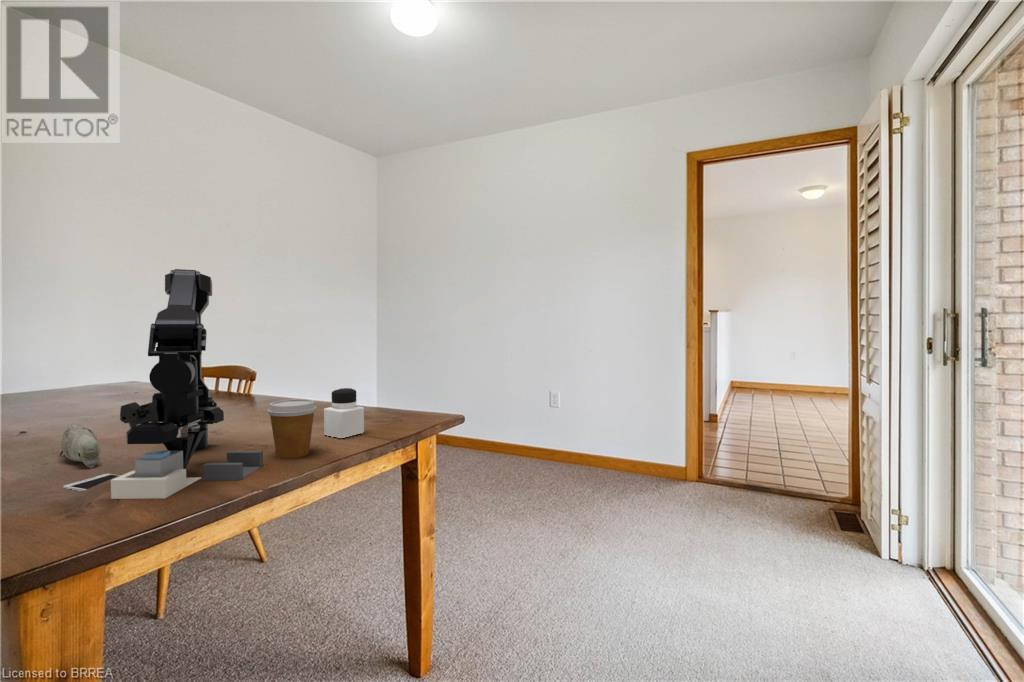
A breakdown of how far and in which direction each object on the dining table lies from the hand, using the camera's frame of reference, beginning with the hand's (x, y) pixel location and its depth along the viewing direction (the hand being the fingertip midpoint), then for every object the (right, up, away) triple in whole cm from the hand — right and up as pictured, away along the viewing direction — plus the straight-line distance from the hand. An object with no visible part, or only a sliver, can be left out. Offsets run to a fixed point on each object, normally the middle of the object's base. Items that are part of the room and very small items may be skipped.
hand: (181, 470), depth 88 cm
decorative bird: (-29, -2, +11) cm, 31 cm away
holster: (+8, -2, +3) cm, 9 cm away
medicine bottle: (+18, -1, +35) cm, 39 cm away
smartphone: (-9, -3, -3) cm, 10 cm away
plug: (0, -1, -5) cm, 6 cm away
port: (0, -2, -6) cm, 6 cm away
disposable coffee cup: (+14, -2, +15) cm, 20 cm away
